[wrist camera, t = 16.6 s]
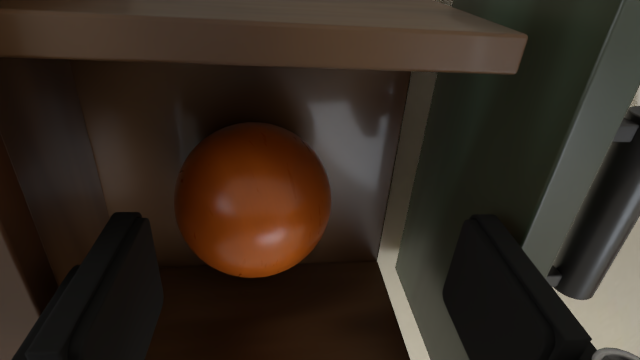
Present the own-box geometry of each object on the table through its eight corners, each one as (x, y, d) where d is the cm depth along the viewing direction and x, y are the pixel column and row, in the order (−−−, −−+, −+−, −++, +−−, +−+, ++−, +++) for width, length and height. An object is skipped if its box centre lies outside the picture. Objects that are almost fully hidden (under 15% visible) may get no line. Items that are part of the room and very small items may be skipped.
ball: (373, 142, 11) (208, 191, 9) (354, 271, 14) (222, 340, 11) (280, 91, 15) (139, 115, 12) (278, 203, 17) (162, 243, 15)
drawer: (617, -20, 14) (894, 12, 8) (503, 264, 21) (603, 402, 15) (29, -61, 12) (-248, -61, 5) (119, 276, 19) (42, 446, 12)
